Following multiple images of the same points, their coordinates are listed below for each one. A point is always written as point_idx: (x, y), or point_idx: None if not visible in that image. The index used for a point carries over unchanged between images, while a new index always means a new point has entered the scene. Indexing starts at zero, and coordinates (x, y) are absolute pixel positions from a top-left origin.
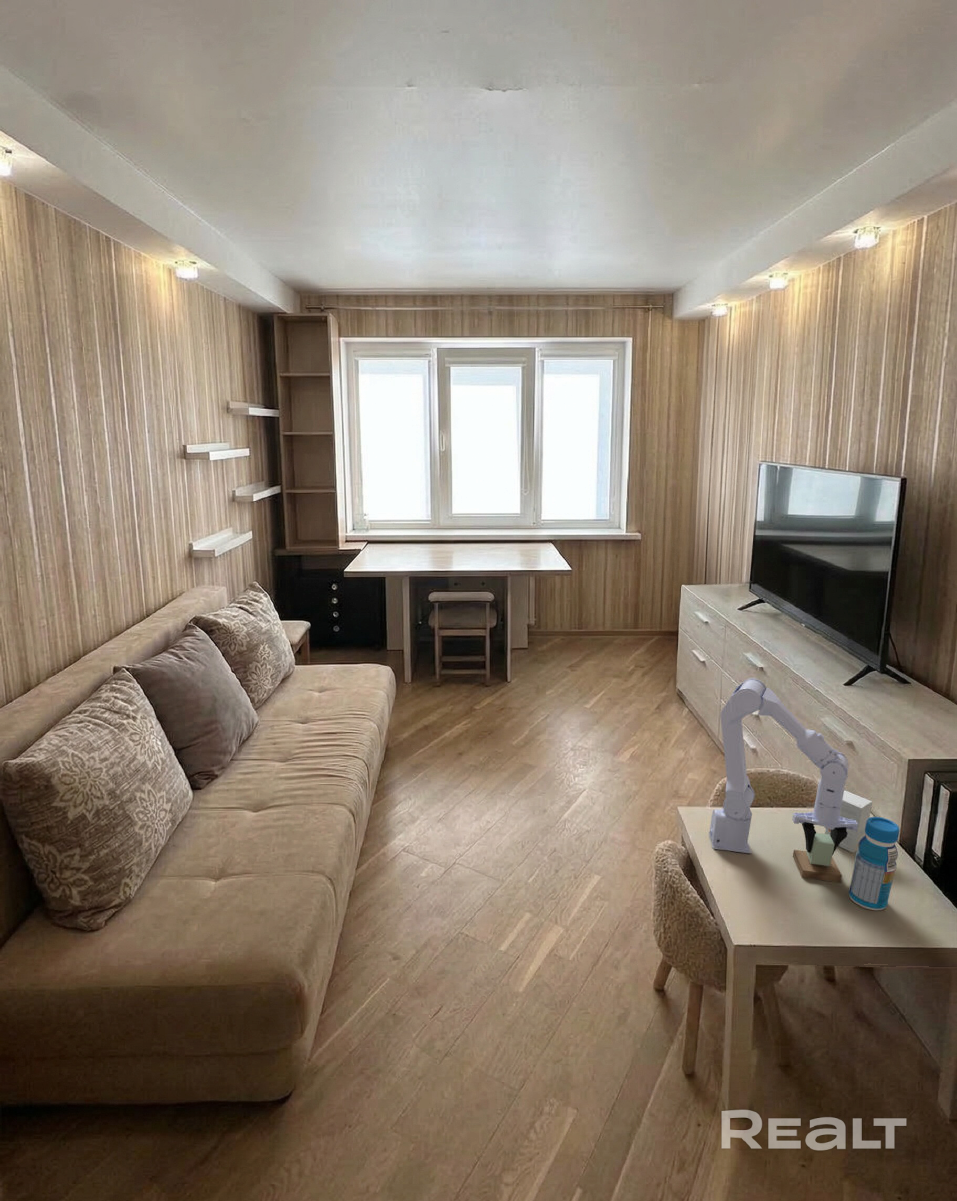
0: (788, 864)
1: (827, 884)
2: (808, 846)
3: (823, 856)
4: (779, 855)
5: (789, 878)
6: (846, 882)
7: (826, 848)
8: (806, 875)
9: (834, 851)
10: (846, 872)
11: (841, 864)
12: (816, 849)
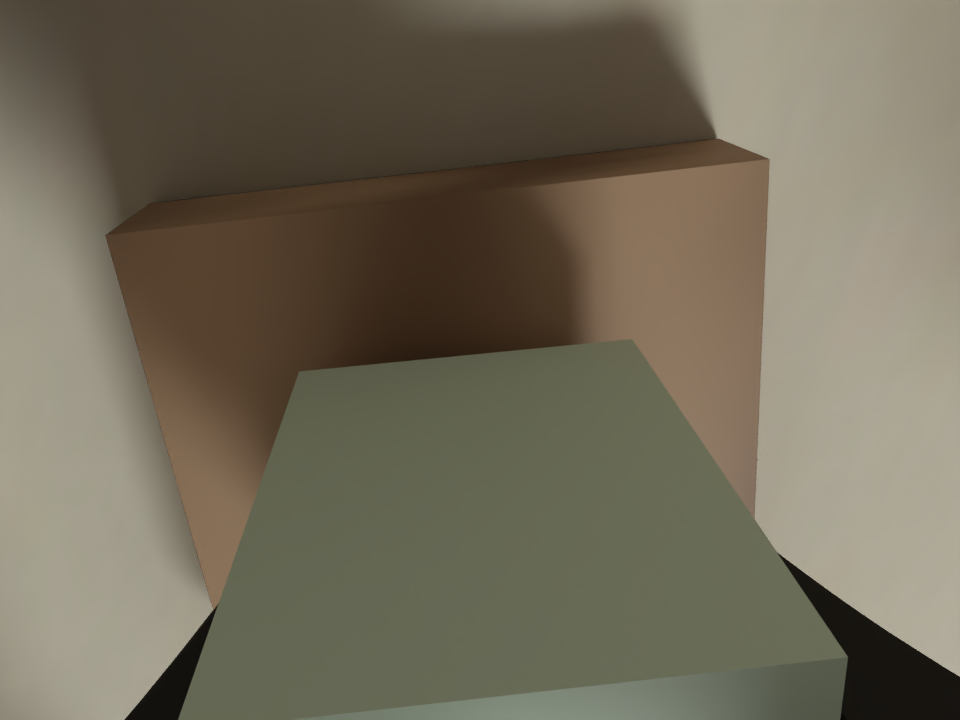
0: (813, 409)
1: (353, 76)
2: (812, 582)
3: (448, 442)
4: (866, 563)
5: (915, 42)
6: (61, 242)
7: (421, 574)
8: (669, 150)
9: (197, 633)
10: (62, 494)
11: (124, 642)
12: (667, 502)
